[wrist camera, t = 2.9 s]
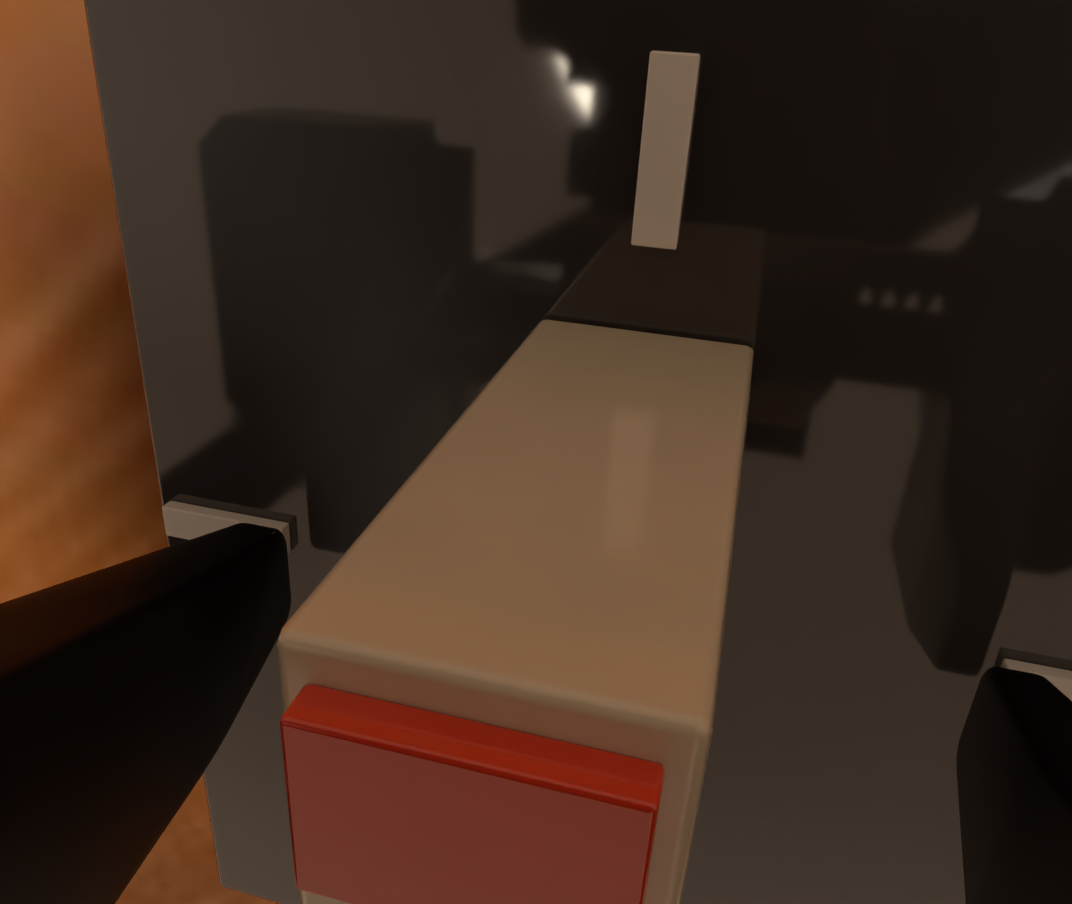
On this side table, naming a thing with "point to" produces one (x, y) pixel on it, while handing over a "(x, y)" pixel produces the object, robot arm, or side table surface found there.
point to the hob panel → (645, 306)
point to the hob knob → (527, 639)
